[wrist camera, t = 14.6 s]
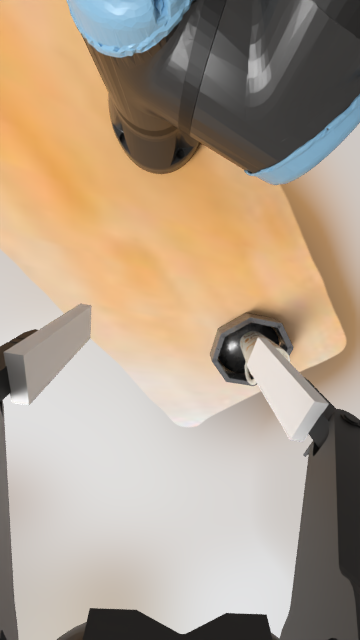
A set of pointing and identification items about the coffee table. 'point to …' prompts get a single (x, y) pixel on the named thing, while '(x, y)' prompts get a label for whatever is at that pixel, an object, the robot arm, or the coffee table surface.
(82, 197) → the coffee table surface
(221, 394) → the coffee table surface
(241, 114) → the robot arm
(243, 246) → the coffee table surface
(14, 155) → the coffee table surface
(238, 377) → the gray octagonal container
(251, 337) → the mug
